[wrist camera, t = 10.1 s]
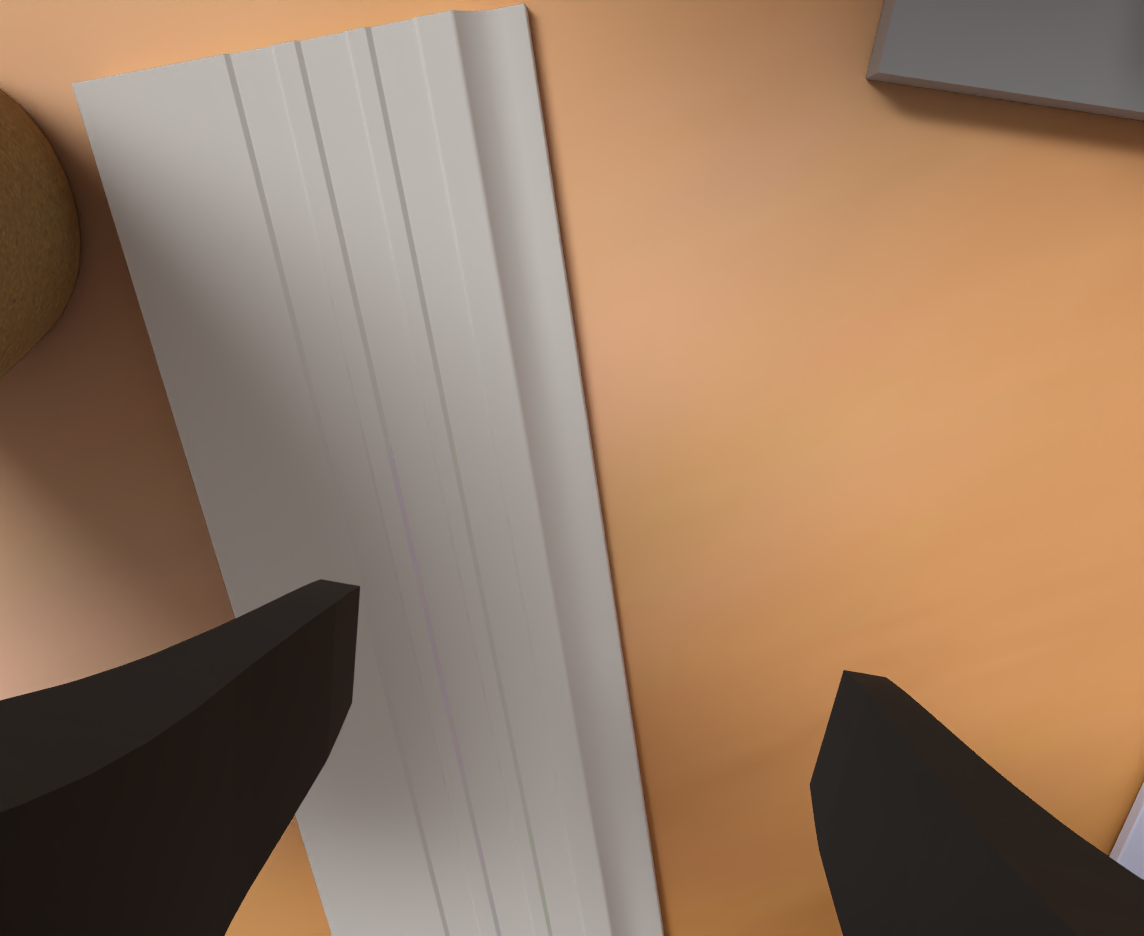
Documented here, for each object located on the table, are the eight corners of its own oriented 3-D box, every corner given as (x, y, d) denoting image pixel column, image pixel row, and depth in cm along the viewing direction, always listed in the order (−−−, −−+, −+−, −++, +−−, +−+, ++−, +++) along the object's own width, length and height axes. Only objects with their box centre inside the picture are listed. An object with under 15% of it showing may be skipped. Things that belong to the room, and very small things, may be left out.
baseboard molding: (593, 1, 19) (113, 92, 20) (583, -34, 16) (27, 75, 17) (720, 1013, 28) (385, 1022, 29) (728, 1102, 25) (357, 1107, 27)
